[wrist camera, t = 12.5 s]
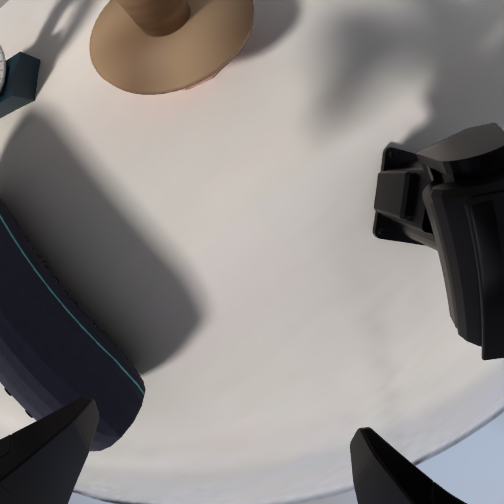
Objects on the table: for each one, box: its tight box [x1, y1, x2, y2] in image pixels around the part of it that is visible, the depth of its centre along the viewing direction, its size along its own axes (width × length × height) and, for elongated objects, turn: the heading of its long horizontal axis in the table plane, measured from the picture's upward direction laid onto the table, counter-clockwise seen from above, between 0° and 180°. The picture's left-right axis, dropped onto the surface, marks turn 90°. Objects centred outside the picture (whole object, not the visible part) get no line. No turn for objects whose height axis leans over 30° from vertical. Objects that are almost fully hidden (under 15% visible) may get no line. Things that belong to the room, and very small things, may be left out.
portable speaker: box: [0, 200, 145, 451], centre depth 16 cm, size 25×10×10 cm, turn 42°
